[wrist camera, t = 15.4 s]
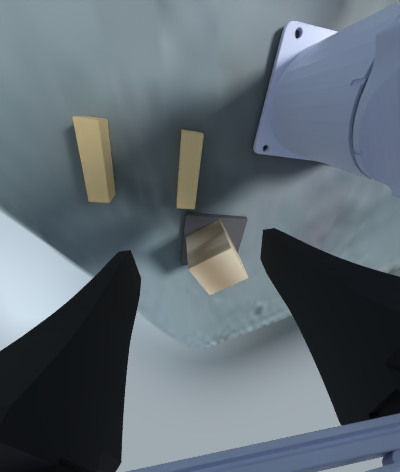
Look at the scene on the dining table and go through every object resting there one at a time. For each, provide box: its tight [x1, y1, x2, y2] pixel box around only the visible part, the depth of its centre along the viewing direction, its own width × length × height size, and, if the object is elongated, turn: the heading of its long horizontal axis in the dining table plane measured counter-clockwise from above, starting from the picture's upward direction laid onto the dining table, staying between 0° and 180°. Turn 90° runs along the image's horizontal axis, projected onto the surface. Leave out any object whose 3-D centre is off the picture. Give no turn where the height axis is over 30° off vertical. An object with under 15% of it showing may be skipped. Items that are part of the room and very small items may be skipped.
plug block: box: [186, 219, 248, 295], centre depth 19 cm, size 4×4×5 cm
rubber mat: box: [181, 213, 247, 265], centre depth 21 cm, size 6×6×1 cm
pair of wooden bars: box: [72, 116, 204, 210], centre depth 16 cm, size 9×6×2 cm
